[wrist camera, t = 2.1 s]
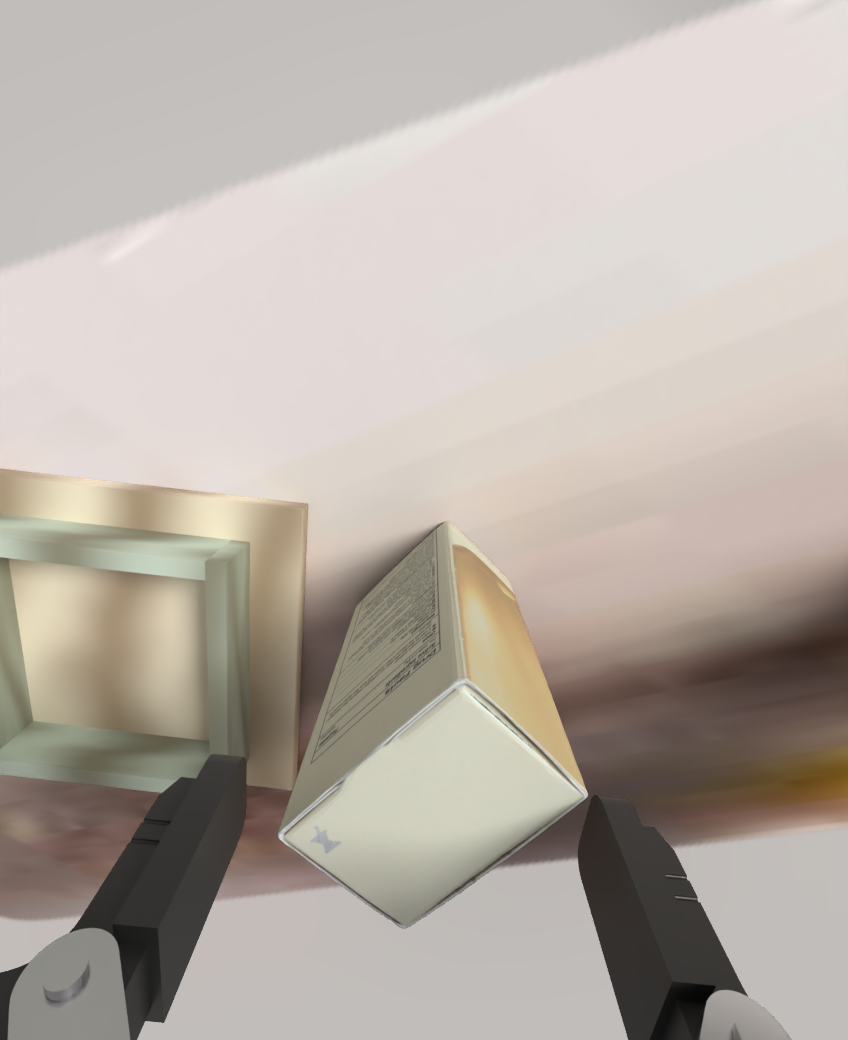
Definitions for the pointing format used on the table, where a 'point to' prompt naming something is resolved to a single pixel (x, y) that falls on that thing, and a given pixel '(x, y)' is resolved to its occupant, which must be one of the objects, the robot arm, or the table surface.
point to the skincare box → (431, 738)
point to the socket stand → (147, 632)
